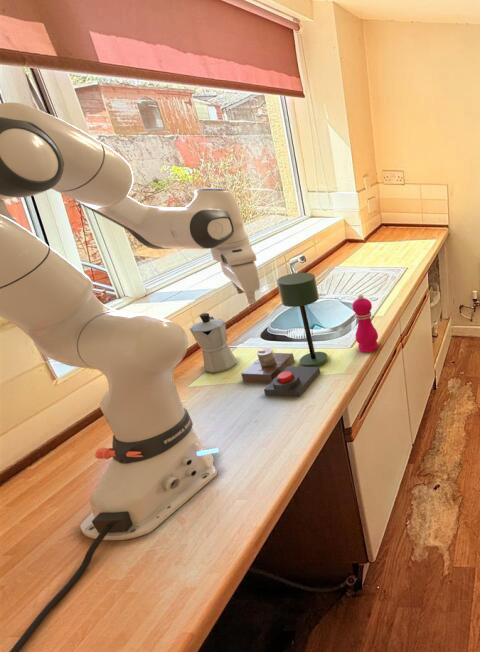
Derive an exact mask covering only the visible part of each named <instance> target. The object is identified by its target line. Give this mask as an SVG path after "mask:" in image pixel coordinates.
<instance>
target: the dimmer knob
mask: <svg viewBox="0 0 480 652" xmlns="http://www.w3.org/2000/svg"><path fill="white" fill-rule="evenodd" d="M273 353H274V351H273V349H272V348H263V349H259V350H258V351H257V352H256V354H257V357H258V358H257V359H259V361H260V365H261V366H270V365H272V364H274V363H275V358H274V354H273Z"/></svg>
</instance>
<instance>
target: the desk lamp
mask: <svg viewBox="0 0 480 652" xmlns="http://www.w3.org/2000/svg"><path fill="white" fill-rule="evenodd" d="M316 280H317V279H316V275H315V274H314V273H310V272H295V273H289V274H285V275H283V276H280V277H279V278H277V279H276V284H277V288H278V292H279V296H280V300H281V304H282V305H283V306H285V307H288V308H297V307H299V310H300V315H301V320H302V324H303V328H304V333H305V339H306V342H307V347H308V350H309V353H306V354H304V355H303V356H301V357H300V358H299V365H300V367H319V368H320V367H323V366H324V365H325V364H327V363H328V360H329V358H328V354H327V353H326V352H324V351H315V346H314V342H313V337H312V333H311V328H310V323H309V319H308V314H307V309H306V306H308V305H311V304H314V303H316V302H317V301H319V298H320V296H319V291H318V285H317V281H316Z"/></svg>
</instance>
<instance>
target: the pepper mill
mask: <svg viewBox="0 0 480 652" xmlns="http://www.w3.org/2000/svg"><path fill="white" fill-rule="evenodd" d="M351 305H352V310H353V312H354V313H355V314H354V315H355V319H357V328H356V331H355V342H356V343H357V344H358V345H357V346H358V351H360V352H361V353H367V354H368V353H371V352H374V351H376V350H377V349H378V347H379V343H378V339H379V334H378V331H377V329H376V328H375V326H374V325H373V323H372V319H371V317H372V308H373V305H372V302H371V301H370V299H368V298H366V297H365V298H364V295H363V294H358V295H357V299H355V300H354V301H353V302H352V304H351Z"/></svg>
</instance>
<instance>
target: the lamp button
mask: <svg viewBox="0 0 480 652" xmlns="http://www.w3.org/2000/svg"><path fill="white" fill-rule="evenodd" d="M292 379H293V376H292V373H291V372H290V371H285V372H282V373H280V374H279V375H278V380H279V383H286V382H289V381H291V380H292Z"/></svg>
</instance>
